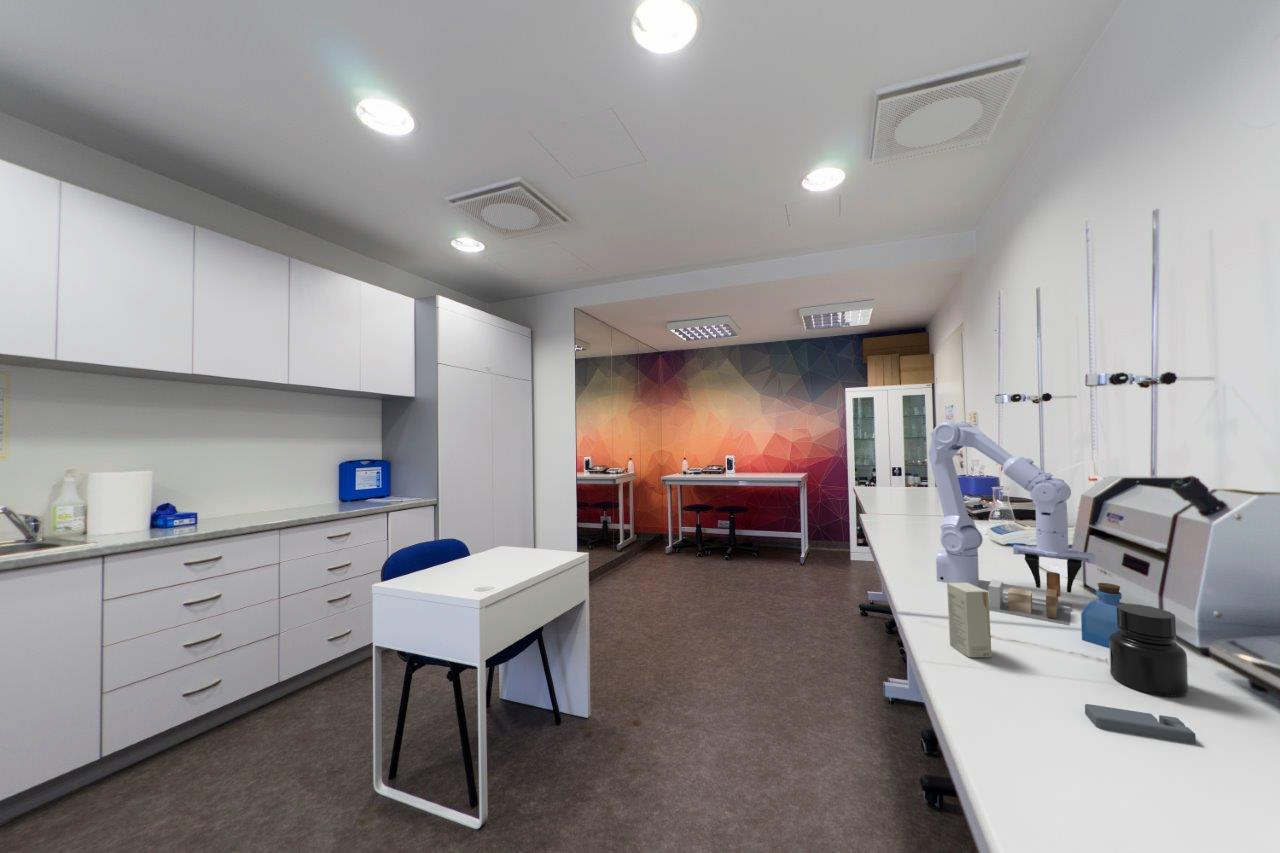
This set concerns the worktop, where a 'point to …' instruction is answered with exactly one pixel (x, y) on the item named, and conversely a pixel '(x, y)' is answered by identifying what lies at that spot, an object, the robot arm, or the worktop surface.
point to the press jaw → (1052, 594)
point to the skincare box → (969, 619)
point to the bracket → (1139, 723)
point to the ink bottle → (1148, 651)
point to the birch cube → (1020, 600)
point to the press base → (1000, 604)
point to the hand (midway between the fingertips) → (1053, 589)
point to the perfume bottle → (1101, 615)
